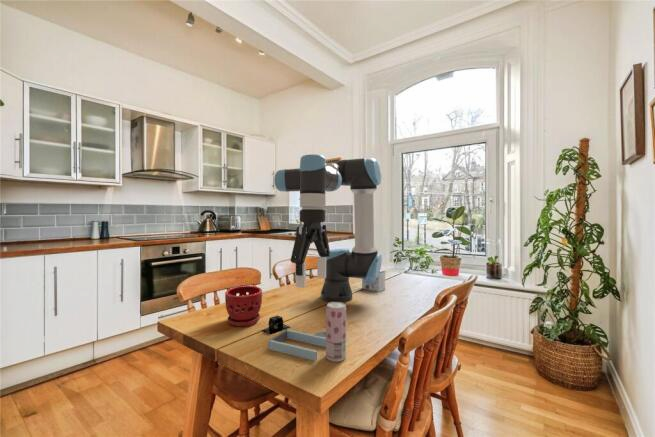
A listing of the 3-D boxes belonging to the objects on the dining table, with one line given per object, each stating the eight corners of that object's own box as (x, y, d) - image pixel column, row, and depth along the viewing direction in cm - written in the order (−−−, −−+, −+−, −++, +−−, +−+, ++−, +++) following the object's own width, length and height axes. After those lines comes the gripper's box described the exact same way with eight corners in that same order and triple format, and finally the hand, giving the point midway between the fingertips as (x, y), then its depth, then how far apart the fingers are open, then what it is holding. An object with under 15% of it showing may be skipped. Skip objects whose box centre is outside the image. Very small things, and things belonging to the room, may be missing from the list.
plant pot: (219, 321, 110) (219, 289, 110) (252, 313, 119) (252, 283, 118) (233, 332, 100) (233, 297, 100) (268, 323, 109) (268, 290, 108)
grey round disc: (319, 331, 101) (319, 329, 101) (341, 336, 98) (341, 334, 98) (308, 340, 94) (308, 338, 94) (331, 345, 91) (331, 343, 91)
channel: (286, 336, 97) (286, 329, 97) (330, 346, 90) (330, 338, 90) (268, 348, 88) (268, 340, 88) (315, 361, 82) (315, 352, 81)
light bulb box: (361, 288, 159) (361, 268, 159) (368, 286, 164) (368, 266, 164) (379, 292, 152) (379, 271, 152) (385, 289, 157) (385, 269, 157)
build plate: (267, 339, 97) (267, 325, 96) (254, 332, 102) (254, 319, 101) (296, 328, 106) (296, 315, 106) (283, 322, 111) (283, 310, 111)
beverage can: (334, 350, 88) (335, 300, 87) (349, 357, 84) (350, 304, 84) (321, 357, 84) (322, 304, 83) (337, 364, 80) (337, 309, 79)
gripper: (319, 209, 99) (319, 273, 100) (277, 208, 77) (277, 290, 78) (340, 209, 96) (339, 275, 96) (302, 208, 74) (301, 293, 74)
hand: (311, 282), depth 87 cm, fingers open, 12 cm apart
